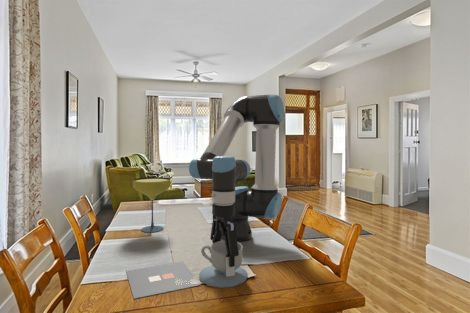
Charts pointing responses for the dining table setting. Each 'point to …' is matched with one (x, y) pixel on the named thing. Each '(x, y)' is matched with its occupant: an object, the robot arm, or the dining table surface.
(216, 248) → the teacup
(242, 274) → the coaster
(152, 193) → the cocktail glass
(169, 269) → the card
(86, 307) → the dining table surface
